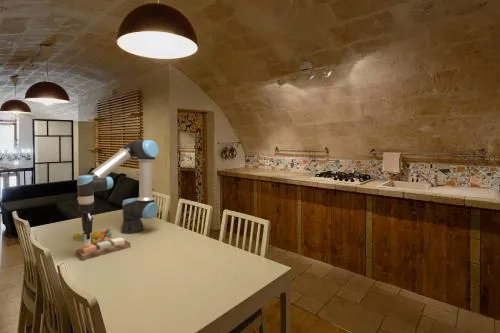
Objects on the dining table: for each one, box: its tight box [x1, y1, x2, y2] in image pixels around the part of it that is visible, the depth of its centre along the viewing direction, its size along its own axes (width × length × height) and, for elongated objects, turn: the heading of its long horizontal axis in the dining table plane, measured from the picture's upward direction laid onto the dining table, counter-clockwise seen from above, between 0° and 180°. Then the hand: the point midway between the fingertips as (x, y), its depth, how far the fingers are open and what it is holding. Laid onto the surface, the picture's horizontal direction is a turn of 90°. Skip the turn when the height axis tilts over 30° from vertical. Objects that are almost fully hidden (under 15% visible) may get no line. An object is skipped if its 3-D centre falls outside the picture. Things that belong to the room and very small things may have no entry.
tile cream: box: [110, 236, 126, 246], centre depth 170 cm, size 6×6×2 cm
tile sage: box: [96, 240, 111, 249], centre depth 165 cm, size 6×6×2 cm
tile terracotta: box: [80, 244, 96, 254], centre depth 159 cm, size 6×6×2 cm
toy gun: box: [72, 227, 113, 245], centre depth 177 cm, size 8×27×15 cm
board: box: [75, 239, 131, 261], centre depth 165 cm, size 26×12×3 cm, turn 136°
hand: (87, 244), depth 158 cm, fingers closed
